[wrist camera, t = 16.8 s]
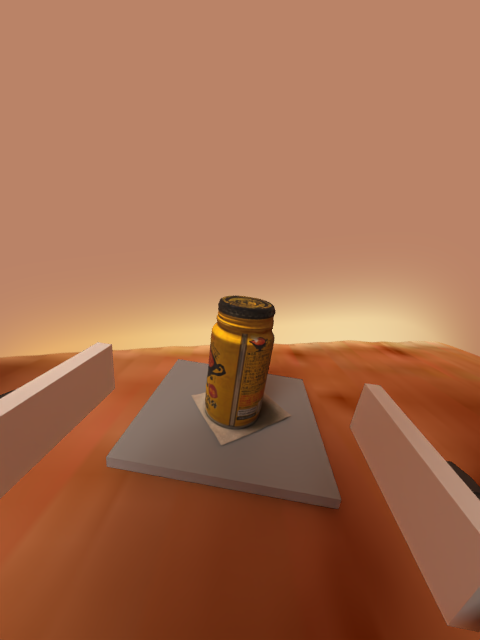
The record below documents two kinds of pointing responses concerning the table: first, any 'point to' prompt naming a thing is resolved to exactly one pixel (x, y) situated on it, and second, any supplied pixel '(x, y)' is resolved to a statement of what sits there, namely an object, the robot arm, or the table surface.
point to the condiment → (239, 370)
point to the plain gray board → (229, 443)
